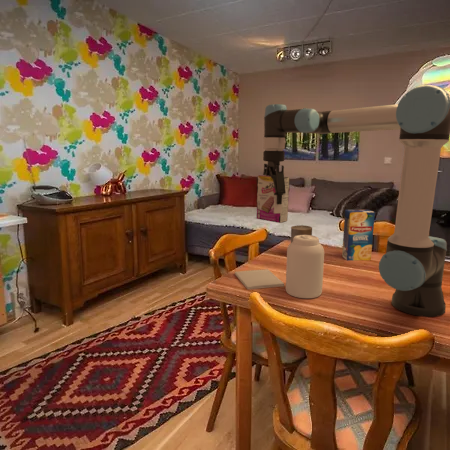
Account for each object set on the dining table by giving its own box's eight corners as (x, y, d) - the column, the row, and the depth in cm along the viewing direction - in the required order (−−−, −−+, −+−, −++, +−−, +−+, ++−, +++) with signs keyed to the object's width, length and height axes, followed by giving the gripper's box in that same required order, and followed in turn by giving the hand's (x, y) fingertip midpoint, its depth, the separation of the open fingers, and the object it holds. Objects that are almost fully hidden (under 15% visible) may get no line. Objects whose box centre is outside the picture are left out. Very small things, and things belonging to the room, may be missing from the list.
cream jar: (283, 285, 136) (285, 232, 132) (317, 286, 135) (320, 232, 131) (287, 299, 123) (290, 241, 119) (325, 299, 123) (329, 241, 119)
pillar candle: (314, 254, 175) (315, 223, 172) (306, 259, 167) (308, 227, 164) (294, 252, 180) (295, 221, 178) (286, 256, 172) (287, 225, 169)
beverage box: (371, 260, 167) (375, 212, 162) (346, 260, 166) (350, 212, 162) (365, 256, 173) (368, 209, 169) (341, 256, 173) (344, 209, 169)
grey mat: (284, 286, 135) (284, 283, 135) (247, 289, 132) (247, 286, 132) (267, 271, 151) (267, 269, 151) (234, 274, 148) (234, 271, 148)
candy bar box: (255, 219, 139) (256, 175, 136) (263, 217, 143) (265, 174, 139) (279, 223, 132) (281, 177, 128) (288, 221, 135) (290, 176, 132)
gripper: (297, 150, 121) (294, 215, 126) (272, 149, 144) (270, 204, 149) (276, 150, 120) (273, 216, 124) (253, 149, 142) (252, 205, 147)
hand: (271, 210), depth 136 cm, fingers closed on candy bar box, 12 cm apart
